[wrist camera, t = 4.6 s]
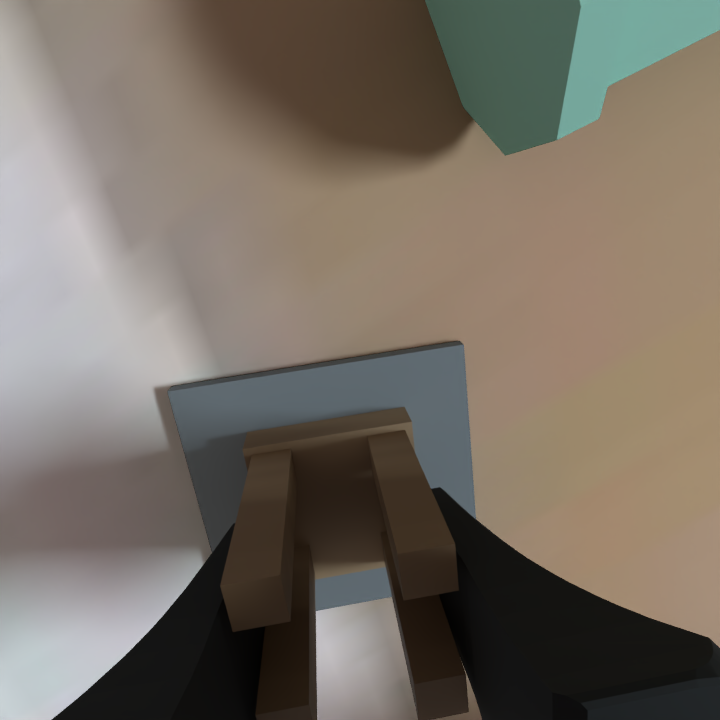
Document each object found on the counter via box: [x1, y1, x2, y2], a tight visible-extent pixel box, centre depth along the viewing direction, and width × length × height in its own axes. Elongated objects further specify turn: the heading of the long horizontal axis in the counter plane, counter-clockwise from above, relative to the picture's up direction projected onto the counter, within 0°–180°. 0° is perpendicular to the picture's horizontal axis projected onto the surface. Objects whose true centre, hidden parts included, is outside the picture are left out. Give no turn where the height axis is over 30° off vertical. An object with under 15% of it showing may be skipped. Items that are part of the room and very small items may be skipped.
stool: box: [220, 407, 469, 720], centre depth 11 cm, size 4×4×6 cm
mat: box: [168, 341, 476, 611], centre depth 14 cm, size 8×8×1 cm
